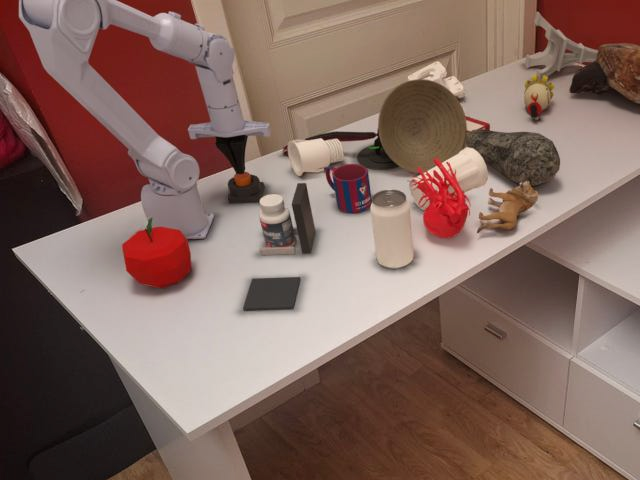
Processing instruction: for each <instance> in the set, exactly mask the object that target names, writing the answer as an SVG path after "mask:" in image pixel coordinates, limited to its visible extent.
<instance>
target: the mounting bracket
mask: <svg viewBox="0 0 640 480" xmlns="http://www.w3.org/2000/svg"><path fill="white" fill-rule="evenodd" d="M427 74H429V76H427V77H424V78H423V79H427V80H431V81H434V82H437V83H439V84H441V85H443V86H444V87H446V88H447V89H449V90H450V91H451V92H452V93H453V94H454V96H455V97H456V96H457V99H458V98H459V99H460V98H463V97H465V90H466V89H465V87H464V86H463V85H462V83H461V82H460V81H459V79H458V78H457V77H456V76H455V75H451V76H448V77H447V74H448V72H447V69H446V68H445V67H444V65H442V63H441V62H440V61H434V62H432V63H430V64H429V65H427V66H425V67H423V68H421V69H419V70H416V71H415V72H414V73H411V74H409V75H408V76H407V80H408V81H411V80H416V79H422V77H423V76H425V75H427ZM445 77H446V78H445Z"/></svg>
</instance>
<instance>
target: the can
mask: <svg viewBox="0 0 640 480" xmlns="http://www.w3.org/2000/svg"><path fill="white" fill-rule="evenodd" d="M371 198H372V204H371V206H370V218H371V226H372V232H373V233H372V234H373V241H374V247H375V248H374V249H375V256H376V261H377V262H378V263H379V264H380V265H381V266H382V267H384V268H387V269H393V270H394V269H401V268H404V267H406V266H408V265H409V264H411V263H412V262H413V260H414V257H415V252H414V242H413V241H414V240H413V228H412V218H411V217H412V216H411V206H410V203H409V201H408V199H407V195H406V194H405V192H403V191H402V190H398V189H393V188H392V189H391V188H390V189H383V190H380V191H378V192H376V193H374V194H373V195H372V196H371Z"/></svg>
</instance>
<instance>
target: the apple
mask: <svg viewBox="0 0 640 480" xmlns="http://www.w3.org/2000/svg"><path fill="white" fill-rule="evenodd" d="M152 218H153V217H152ZM152 218H151V219H149V220H147V225H146V227H145V228H144V229H141V230H137V231H136V232H135V233H134V234H133V235H132V236H130V237H129V238H128V239H127V240H125V242H123V243H122V244H121V250H122V254H123V259H124V261H123V262H124V267H125V271H126V272H127V274H129V275H130V277H132V278H133V279H134V280H135V282H137V283H138V284H140V285H145V286H149V287H154V288H157V289H165V288H168V287H171V286H174V285H177V284H179V283H180V282H181V281H182V280H183V279H184V278H185V277H187V275H188V274H189V273H190V271H192V256H191V255H192V253H191V249H190V244H189V239H186V237H185V236H184V235H183V233H182V232H181V231H180V230H177V229H172V228H166V227H161V226H160V227H155V228H152V225H151V224H152Z"/></svg>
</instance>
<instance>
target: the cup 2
mask: <svg viewBox="0 0 640 480" xmlns="http://www.w3.org/2000/svg"><path fill="white" fill-rule="evenodd" d="M446 162H448V163H450V165H451V168H452V170H453V173H455V170H456V179H457V182H458V183H459V186H460V188H461V189H462V191H463V190H464V194H465V193H467V192H469V191H472V190H474V189H478V188H481V187H484V186H485V185H486V184H487V182H488V179H489V172H488V171H489V170H488V166H487V164H486V161H484V159H483V158H482V156H481V155H480V154H479V152H477V151H476V150H475V149H473V148H469V147H467V148H465V149H463V150H461V151H460V152H459V153H458V154H457V155H455V156H453V157H451V158H450V159H448V160H446V161H444V162H443V163H442V165H443V166H444V167H445V168H446V170H447V171H448V170H449V166H448V165H447V164H446ZM434 170H435V171H437V172H438V174H439V175H440V176H441V177H442V178H443V181H444V175H443V174H442V172H441V171H440V169H439V168H438V166H435V167H434V168H432V169H430V170H428V171H427V172H428V173H429V174H430V175H431V176H432V177H434V174H433V171H434ZM450 173H451V172H450V170H449V174H450ZM425 174H427V173H426V172H425V173H424V175H425ZM450 175H451V174H450ZM451 176H452V175H451ZM417 177H418V178H421V179H422V176H421V174H420V175H417ZM425 177H426V179H428V178H429V177H428V176H427V175H425ZM418 178H415V177H413V178H412V179H411V180H410V181H415V182H419V181H420V180H421V179H418ZM434 179H436V180H437V181H438V182H440V181H439V180H438V179H437V178H435V177H434ZM422 182H424V181H422ZM422 182H420V183H422ZM428 182H429V183H430V184H431V181H428ZM447 183H448V184H449V182H448V181H447ZM413 184H415V183H414V182H409V184H408V185H409V187H408V188H409V192H410V195H411V198H412V199H413V201H414V203H415V205H417V207H418V208H420V207H421V206H422V205H423V204H424V203H425V201H426V199H429V198H428V197H426V198H423V199H422V201H421V202H420V205H419V204H418V203H419V201H420V199H421V197H422V196H424V195H425V194H424V193H423V192H422V191H421V190H420V189H418V188H416V187H417V186H418V184H416V185H413ZM448 184H447V185H448ZM411 185H413V186H411ZM432 186H433V187H434V189H435V190H437V191H439V189H438V187H437V186H436V185H435V184H434V183H433V182H432ZM415 188H416V189H415ZM414 189H415V190H414ZM448 191H449V193H453V192H455V190H454V189H453V188H452V186H449V187H448ZM437 193H438V192H437ZM423 194H424V195H423ZM455 195H456V193H455ZM453 197H454V198H455V196H453ZM429 204H430V200H428V201H427V202H426V203H425V205H424V206H423V207H421V210H422V211H425V210H426V208H427V207H428V206H429Z"/></svg>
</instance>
